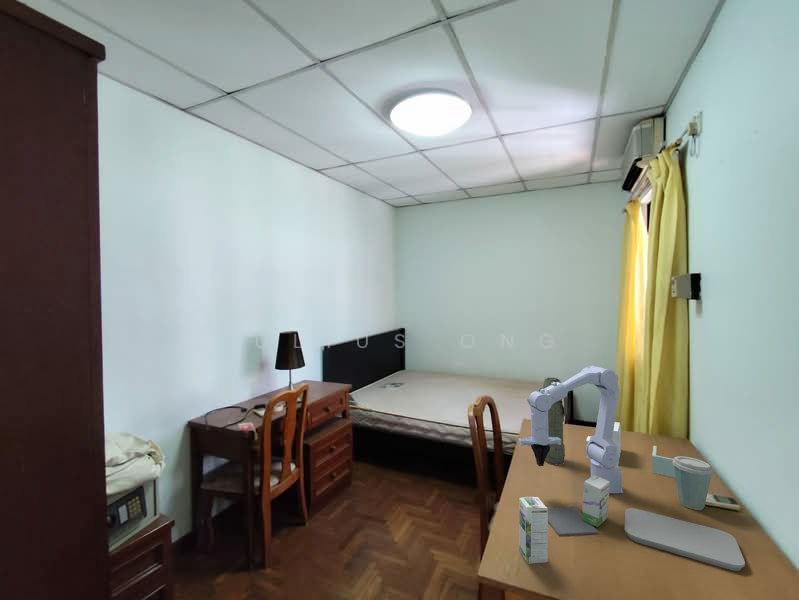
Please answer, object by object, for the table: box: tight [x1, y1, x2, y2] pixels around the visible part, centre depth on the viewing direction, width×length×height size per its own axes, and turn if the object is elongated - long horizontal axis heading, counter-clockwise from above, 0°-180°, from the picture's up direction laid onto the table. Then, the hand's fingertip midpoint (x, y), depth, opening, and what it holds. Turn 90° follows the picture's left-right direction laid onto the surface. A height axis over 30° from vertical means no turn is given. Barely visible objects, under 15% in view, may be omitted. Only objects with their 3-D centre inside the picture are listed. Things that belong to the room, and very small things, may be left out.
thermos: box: [538, 377, 569, 466], centre depth 156 cm, size 9×12×35 cm
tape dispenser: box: [585, 421, 622, 466], centre depth 162 cm, size 12×18×14 cm, turn 145°
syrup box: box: [518, 496, 549, 565], centre depth 98 cm, size 6×6×14 cm
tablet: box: [624, 507, 746, 572], centre depth 104 cm, size 16×26×2 cm, turn 57°
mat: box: [547, 506, 599, 537], centre depth 113 cm, size 12×13×1 cm
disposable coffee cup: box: [672, 455, 714, 511], centre depth 121 cm, size 11×11×15 cm
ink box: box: [581, 475, 610, 528], centre depth 114 cm, size 8×5×12 cm, turn 132°
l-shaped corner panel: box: [651, 445, 675, 479], centre depth 145 cm, size 12×12×8 cm
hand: (540, 464), depth 129 cm, fingers closed
